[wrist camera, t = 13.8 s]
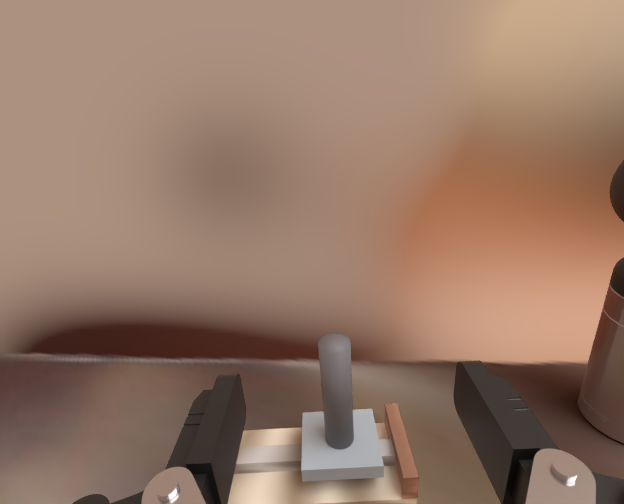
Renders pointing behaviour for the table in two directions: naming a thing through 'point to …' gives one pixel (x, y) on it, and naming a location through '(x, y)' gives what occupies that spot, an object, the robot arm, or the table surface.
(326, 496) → the rail bed
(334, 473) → the carriage
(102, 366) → the table surface
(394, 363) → the table surface
